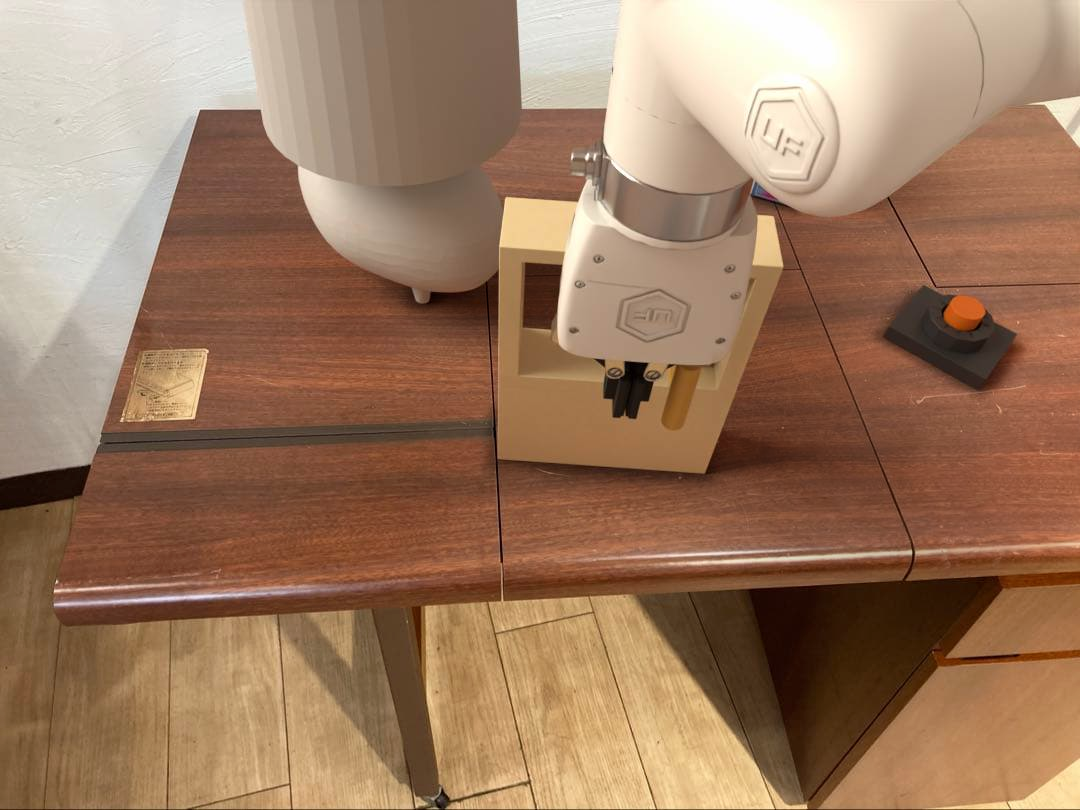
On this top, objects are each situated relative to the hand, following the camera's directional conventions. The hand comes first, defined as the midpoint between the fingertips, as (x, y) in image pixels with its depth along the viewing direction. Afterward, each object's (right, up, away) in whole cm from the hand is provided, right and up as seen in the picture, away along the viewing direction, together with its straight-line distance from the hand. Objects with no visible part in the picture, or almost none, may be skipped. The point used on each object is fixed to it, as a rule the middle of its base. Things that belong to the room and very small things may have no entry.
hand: (623, 401), depth 55 cm
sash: (+4, 0, +5) cm, 6 cm away
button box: (+35, +6, +26) cm, 44 cm away
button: (+35, +8, +24) cm, 43 cm away
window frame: (0, -4, +17) cm, 17 cm away
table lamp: (-19, +14, +29) cm, 38 cm away
